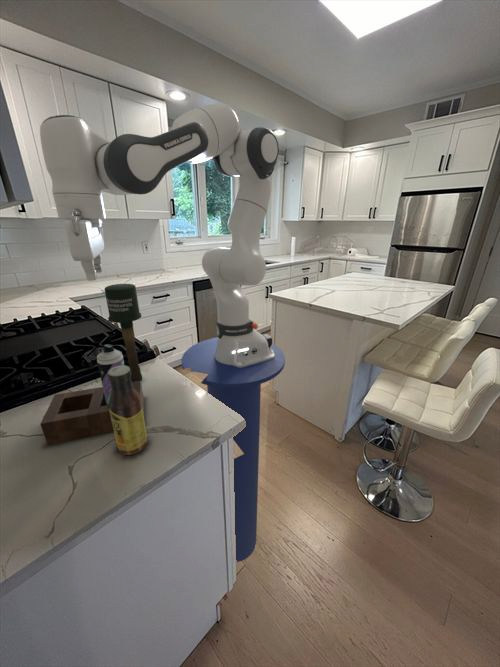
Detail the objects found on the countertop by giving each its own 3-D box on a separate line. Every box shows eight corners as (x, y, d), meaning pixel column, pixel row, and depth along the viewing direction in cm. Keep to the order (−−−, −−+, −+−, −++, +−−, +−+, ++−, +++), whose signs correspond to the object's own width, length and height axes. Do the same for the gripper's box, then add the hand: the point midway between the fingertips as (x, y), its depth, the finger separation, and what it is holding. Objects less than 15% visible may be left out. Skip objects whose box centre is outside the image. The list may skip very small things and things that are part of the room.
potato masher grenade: (115, 386, 84) (94, 288, 72) (134, 372, 91) (119, 282, 80) (138, 391, 81) (121, 291, 70) (156, 376, 89) (143, 284, 77)
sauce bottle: (116, 442, 63) (98, 365, 55) (144, 432, 66) (131, 358, 58) (120, 462, 58) (102, 381, 50) (151, 450, 61) (138, 372, 53)
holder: (143, 398, 78) (140, 380, 76) (143, 425, 68) (140, 405, 66) (60, 413, 72) (54, 394, 69) (47, 445, 62) (40, 423, 60)
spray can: (111, 411, 73) (96, 341, 65) (133, 407, 74) (121, 339, 67) (108, 424, 68) (91, 351, 60) (131, 420, 70) (118, 348, 62)
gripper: (90, 209, 50) (105, 284, 56) (103, 211, 68) (114, 268, 73) (49, 208, 48) (69, 286, 54) (74, 210, 66) (87, 269, 71)
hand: (95, 275), depth 64 cm, fingers open, 8 cm apart
